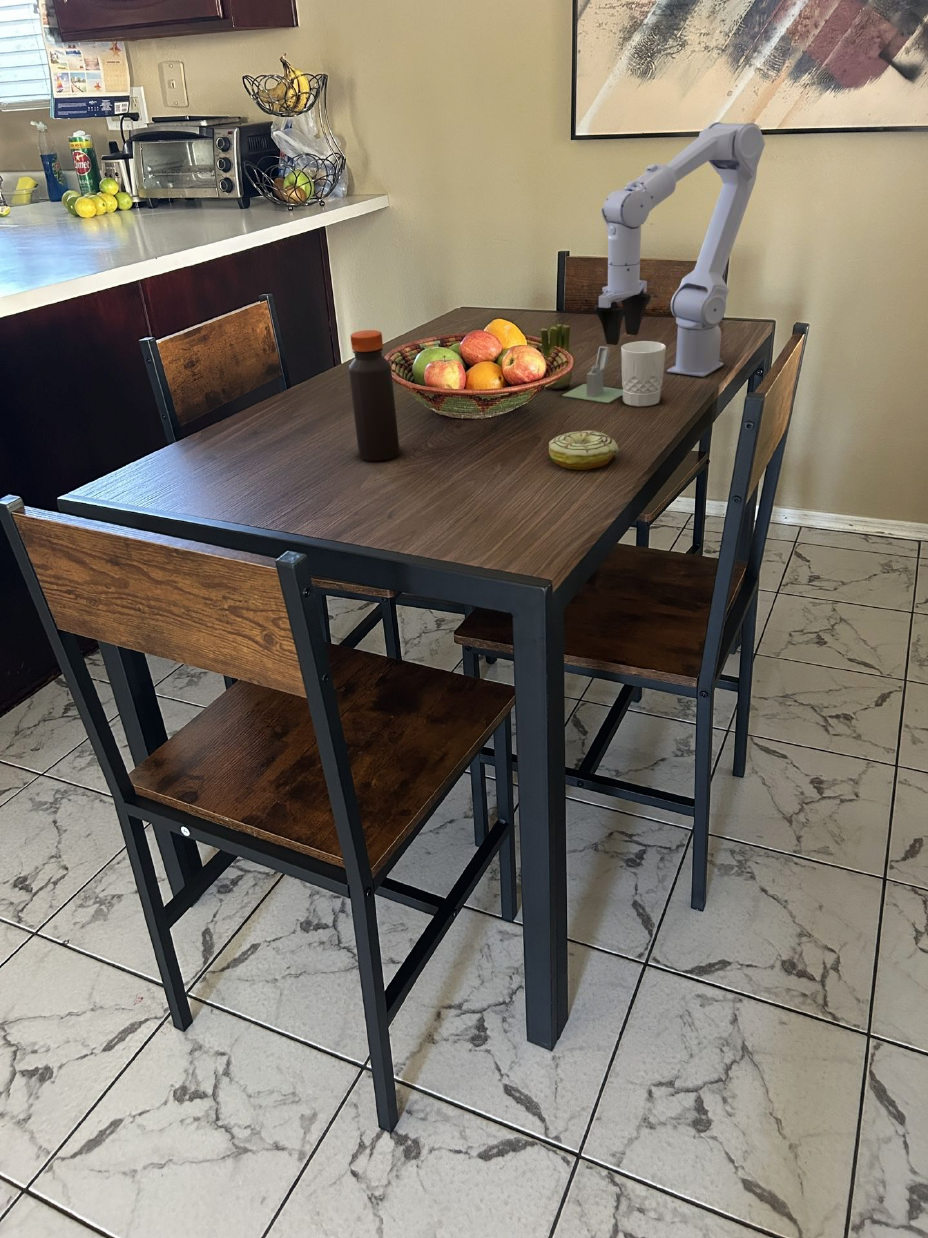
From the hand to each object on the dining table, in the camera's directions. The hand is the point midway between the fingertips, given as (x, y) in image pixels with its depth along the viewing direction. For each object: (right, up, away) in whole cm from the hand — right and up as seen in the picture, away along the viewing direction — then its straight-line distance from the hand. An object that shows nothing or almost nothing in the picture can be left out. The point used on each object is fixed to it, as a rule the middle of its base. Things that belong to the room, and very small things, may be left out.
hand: (622, 339), depth 175 cm
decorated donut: (-11, -28, -27) cm, 40 cm away
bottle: (-44, -25, -19) cm, 54 cm away
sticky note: (-5, -10, +2) cm, 11 cm away
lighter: (-4, -9, +3) cm, 11 cm away
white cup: (+3, -13, -3) cm, 13 cm away
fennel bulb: (-12, -8, +7) cm, 16 cm away
